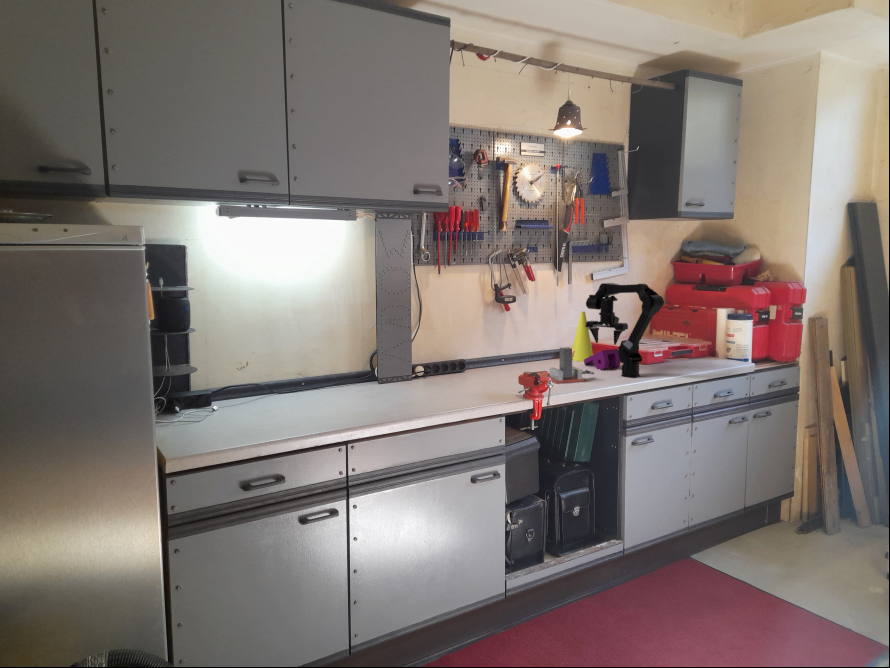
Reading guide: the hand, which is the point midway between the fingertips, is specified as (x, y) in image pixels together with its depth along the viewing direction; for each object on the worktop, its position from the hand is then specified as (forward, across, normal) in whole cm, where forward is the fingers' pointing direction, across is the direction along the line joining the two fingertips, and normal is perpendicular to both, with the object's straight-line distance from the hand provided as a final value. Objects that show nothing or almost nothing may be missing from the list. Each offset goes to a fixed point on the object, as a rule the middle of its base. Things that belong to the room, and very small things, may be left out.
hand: (606, 343), depth 272 cm
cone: (+13, +25, -22) cm, 36 cm away
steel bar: (+12, +3, +30) cm, 32 cm away
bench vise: (+13, +2, +28) cm, 31 cm away
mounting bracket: (+14, +8, -9) cm, 18 cm away
